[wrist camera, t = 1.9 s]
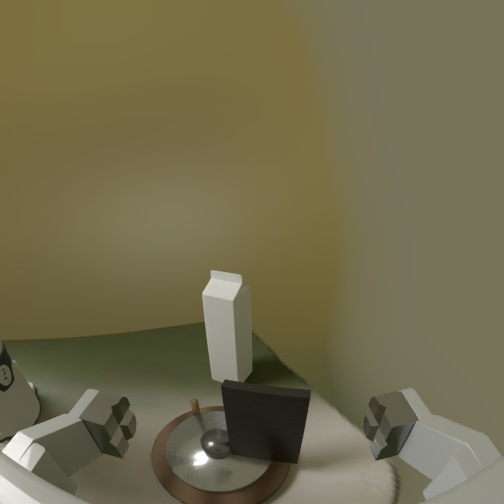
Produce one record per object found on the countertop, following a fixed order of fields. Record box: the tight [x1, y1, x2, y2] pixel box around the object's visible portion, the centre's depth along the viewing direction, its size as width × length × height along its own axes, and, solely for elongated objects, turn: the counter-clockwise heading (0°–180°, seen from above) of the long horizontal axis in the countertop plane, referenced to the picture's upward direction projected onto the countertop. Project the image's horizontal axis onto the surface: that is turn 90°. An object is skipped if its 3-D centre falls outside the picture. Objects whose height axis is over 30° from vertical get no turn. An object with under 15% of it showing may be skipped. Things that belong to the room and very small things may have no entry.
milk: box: [202, 270, 252, 383], centre depth 47 cm, size 6×6×22 cm
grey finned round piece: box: [166, 379, 311, 494], centre depth 29 cm, size 18×17×15 cm
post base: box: [152, 399, 290, 504], centre depth 30 cm, size 20×20×5 cm
